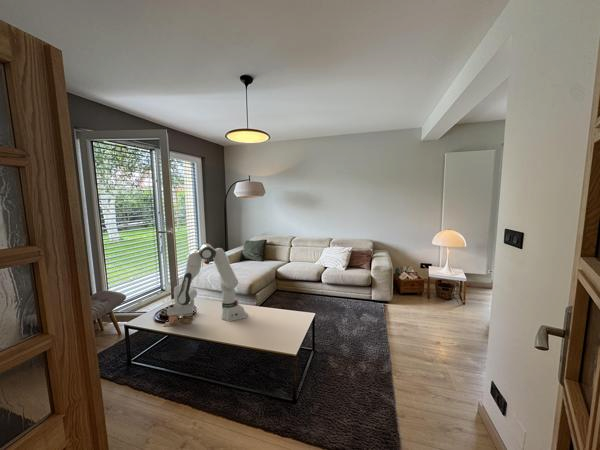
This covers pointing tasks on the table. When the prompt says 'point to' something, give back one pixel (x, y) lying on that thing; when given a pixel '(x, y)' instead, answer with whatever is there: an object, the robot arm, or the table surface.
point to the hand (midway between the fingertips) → (180, 319)
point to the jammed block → (172, 319)
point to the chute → (181, 320)
